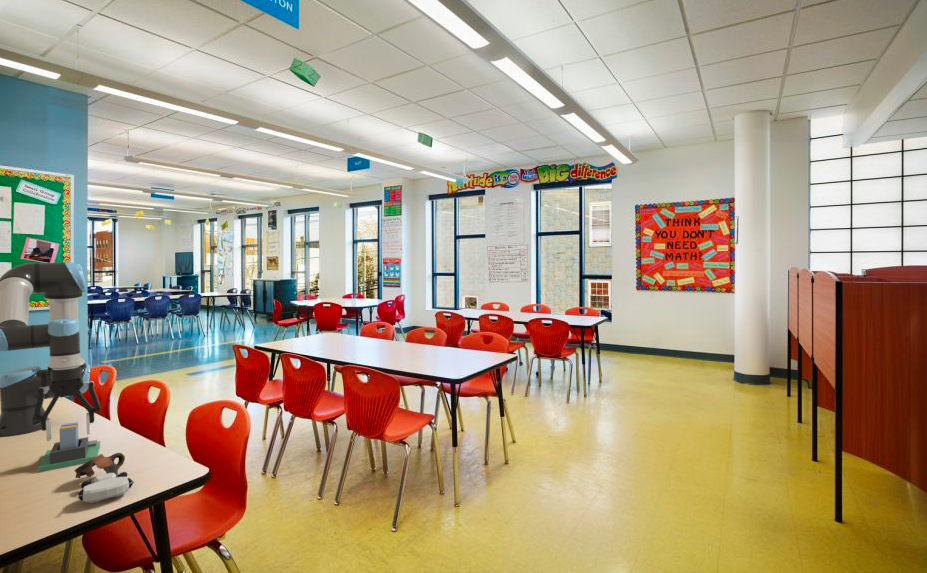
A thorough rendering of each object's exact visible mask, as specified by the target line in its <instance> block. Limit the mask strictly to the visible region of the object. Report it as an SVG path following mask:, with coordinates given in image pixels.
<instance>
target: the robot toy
mask: <svg viewBox="0 0 927 573" xmlns="http://www.w3.org/2000/svg"><path fill="white" fill-rule="evenodd" d="M129 474H130V472H128V471H127V472H126V471H122V472H120V473H118V476H117V477H116V474H114V473H107V474H106V473H104V474H99V475H97V476H95V477H94V478H93V482H92V481H91V480H85V481H83V482H81V483H79V484H78V486H79V487H80V488H81V489H80V490H79V492H78V493H77V495H76V498H77V499H78V500H80V501H83V502H84V503H91V504H96V503H99V502H100V501H101V500H102V501H103V500H107V499H110V498H118V497H120V496H122V495H124V494H125V493H127V492H128V491H129V489H131V488H132V486H133V484H135V483H136V482H135V481H134V480H132V479H131V478H130V477H128V476H129Z"/></svg>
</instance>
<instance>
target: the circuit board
mask: <svg viewBox="0 0 927 573" xmlns="http://www.w3.org/2000/svg"><path fill="white" fill-rule="evenodd" d="M100 449H101V441H100V440H99V441H98V440H97V439H95V440H89V437H88V436H87V437H81V438H79V447H74V448H69V449H63V450H60V441H58V442H57V441H56V442H55V443H53V446H52V449H49V450H46V452H45V453H44V456H43V457H42V459H41V461H40V462H39V465H38V467H37V472H38V473H42V472H46V471H52V470H58V469H63V468H69V467H72V466H73V467H74V466H77V465H79V466H80V465H83V464H85V463H86V462H88V461H90V460H92V459H93V458H95V457H97V456H98V455H99V453H100Z"/></svg>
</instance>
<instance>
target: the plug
mask: <svg viewBox="0 0 927 573" xmlns="http://www.w3.org/2000/svg"><path fill="white" fill-rule="evenodd" d="M79 437H80V436H79V421H76V422H67V423H61V426H60V427H59V442H60V450H63V449H69V448H74V447H79V439H80V438H79Z"/></svg>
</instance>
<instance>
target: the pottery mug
mask: <svg viewBox="0 0 927 573" xmlns="http://www.w3.org/2000/svg"><path fill="white" fill-rule="evenodd" d="M125 457H126V455H124V454H123V453H122V452H115V453H114V454H112V455H110V456H105V455H104V454H103V453H100V454H98V456H97V457H95V458H93V459H92V460H90V461H88V462H86V463H84V464H81V465H79V466H78V467H77V468H75V469H74V470H73V471H74V472H75V473H76V474H75V478H76V479H78V480H79V479H81V477H83V476H86V477H88V478H91V477H92V476H94V475H95V471H94V469H93V467H94V466H96V468H98V469H99V470H101V469H103V471H104V472H106V473H105V474H107V473H114V474H116V478H117V476H118V475H119V470H120V468H121V467H122V466H123V465H124V463H125V459H126V458H125ZM116 458H117V459H118V461H117V463H115V460H116Z"/></svg>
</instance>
